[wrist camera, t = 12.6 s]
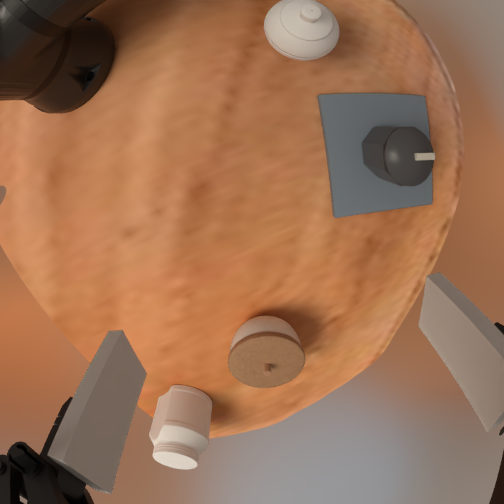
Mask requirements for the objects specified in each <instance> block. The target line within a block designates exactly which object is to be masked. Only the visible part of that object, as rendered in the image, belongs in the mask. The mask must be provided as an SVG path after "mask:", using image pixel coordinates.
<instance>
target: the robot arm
mask: <svg viewBox="0 0 504 504" xmlns="http://www.w3.org/2000/svg"><path fill="white" fill-rule="evenodd" d="M104 1H106V0H0V100H24V101H26V102H28V103H30V104H31V105H33V106H34V107H36V108H37V109H39V110H40V111H42V112H46V113H67V112H70V111H73V110H75V109H77V108H79V107H80V106H82V105H83V104H84V103H86V102H87V101H88V100H89V99H90V98H91V97H92V96H93V95H94V94H95V93H96V92H97V90H98V89H99V88H100V86H101V85H102V83H103V82H104V80H105V78H106V77H107V75H108V72H109V70H110V67H111V65H112V61H113V57H114V39H113V36H112V33H111V31H110V30H109V28H108V27H107V26H106V25H104V24H103V23H101V22H100V21H98V20H96V19H94V18H91V17H84V16H86V15H87V14H88V13H89V12H91V11H92V10H93V9H95V8H96V7H97V6H99V5H100V4H102V3H103V2H104ZM418 326H419V328H420V329H421V330H422V332H423V333H424V334H425V336H426V337H427V339H428V340H429V341H430V343H431V344H432V346H433V347H434V348H435V350H436V351H437V353H438V354H439V356H440V357H441V358H442V360H443V361H444V363H445V364H446V366H447V367H448V369H449V370H450V372H451V373H452V375H453V376H454V378H455V379H456V381H457V383H458V384H459V386H460V387H461V389H462V390H463V392H464V393H465V395H466V397H467V399H468V400H469V402H470V403H471V405H472V407H473V409H474V410H475V412H476V414H477V415H478V417H479V419H480V421H481V422H482V424H483V426H484V428H485V430H486V431H487V432H489V431H490V430H492V429H493V428H495V427H496V426H497V425H499V424H500V423H501V422H502V421H503V420H504V326H503V325H501V324H499V323H498V322H497V323H495V324H493V323H492V322H491V321H490V320H489V319H488V318H487V317H486V316H485V315H484V314H483V313H482V312H481V311H480V310H479V309H478V308H477V307H476V306H475V305H474V304H473V303H472V302H471V301H470V300H469V299H468V298H467V297H466V296H465V295H464V294H463V293H462V292H461V291H460V290H459V289H458V288H457V287H456V286H454V285H453V284H452V283H451V282H450V281H449V280H448V279H447V278H446V277H445V276H443V275H442V274H441V273H440V272H439V273H435V274H432V275H428V276H426V283H425V290H424V297H423V303H422V309H421V315H420V321H419V325H418ZM146 375H147V373H146V371H145V369H144V368H143V366H142V364H141V363H140V361H139V359H138V357H137V356H136V354H135V352H134V350H133V349H132V347H131V345H130V343H129V341H128V339H127V338H126V336H125V334H124V332H123V330H117V331H109V332H108V333H107V335H106V337H105V339H104V340H103V342H102V344H101V346H100V347H99V349H98V351H97V353H96V355H95V356H94V358H93V360H92V362H91V364H90V366H89V368H88V369H87V371H86V373H85V375H84V377H83V379H82V381H81V383H80V385H79V387H78V389H77V391H76V393H75V395H74V397H70V398H69V399H68V400H67V401H66V402H65V404H64V405H63V406H62V408H61V410H60V412H59V414H58V418H56V420H55V422H54V425H53V427H52V429H51V431H50V433H49V435H48V438H47V440H46V442H45V445H44V447H43V449H42V452H41V453H40V455H39V454H37V453H36V452H35V451H34V450H33V449H32V448H30V447H29V446H28V445H27V444H26V443H24V442H16V443H15V444H13V445H12V446H11V447H10V449H9V450H8V453H7V456H6V455H0V504H24V503H22V502H21V501H20V497H19V496H22V497H23V498H25V499H26V500H27V501H28V502H27V504H94V502H93V500H92V498H91V496H90V494H89V492H88V491H87V489H85V486H86V484H87V485H89V486H90V487H92V488H93V489H95V490H98V491H102V492H105V493H109V494H112V490H113V486H114V482H115V478H116V474H117V470H118V466H119V463H120V459H121V455H122V452H123V448H124V445H125V441H126V438H127V434H128V431H129V428H130V424H131V421H132V418H133V415H134V411H135V408H136V405H137V402H138V399H139V396H140V393H141V390H142V387H143V384H144V381H145V378H146ZM503 433H504V427H503V428H502V429H501V431H500V434H499V435H502V434H503ZM489 504H504V451H503V457H502V461H501V465H500V469H499V473H498V477H497V481H496V485H495V488H494V491H493V494H492V497H491V500H490V503H489Z"/></svg>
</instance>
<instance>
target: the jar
mask: <svg viewBox="0 0 504 504" xmlns="http://www.w3.org/2000/svg"><path fill="white" fill-rule="evenodd" d="M212 406H213V404H212V401H211V399H210V398H209V396H208V395H206V394H205V393H204V392H202V391H200V390H198V389H196V388H193V387H190V386H186V385H173V386H171V387H170V390H169V391H168V392H167V393H166V394H164V395H161V396H160V397H159V398H158V403H157V407H156V411H155V415H154V419H153V423H152V427H151V430H150V433H149V436H150V438H151V440H152V442H153V444H154V451H153V458H154V459H155V460H156V461H158V462H159V463H161V464H163V465H166V466H169V467H172V468H177V469H193V468H195V467H197V465H198V458H199V455H200V454H201V453H203V452H204V451H205V450H206V448H207V447H208V445H209V432H210V422H211V411H212Z"/></svg>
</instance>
